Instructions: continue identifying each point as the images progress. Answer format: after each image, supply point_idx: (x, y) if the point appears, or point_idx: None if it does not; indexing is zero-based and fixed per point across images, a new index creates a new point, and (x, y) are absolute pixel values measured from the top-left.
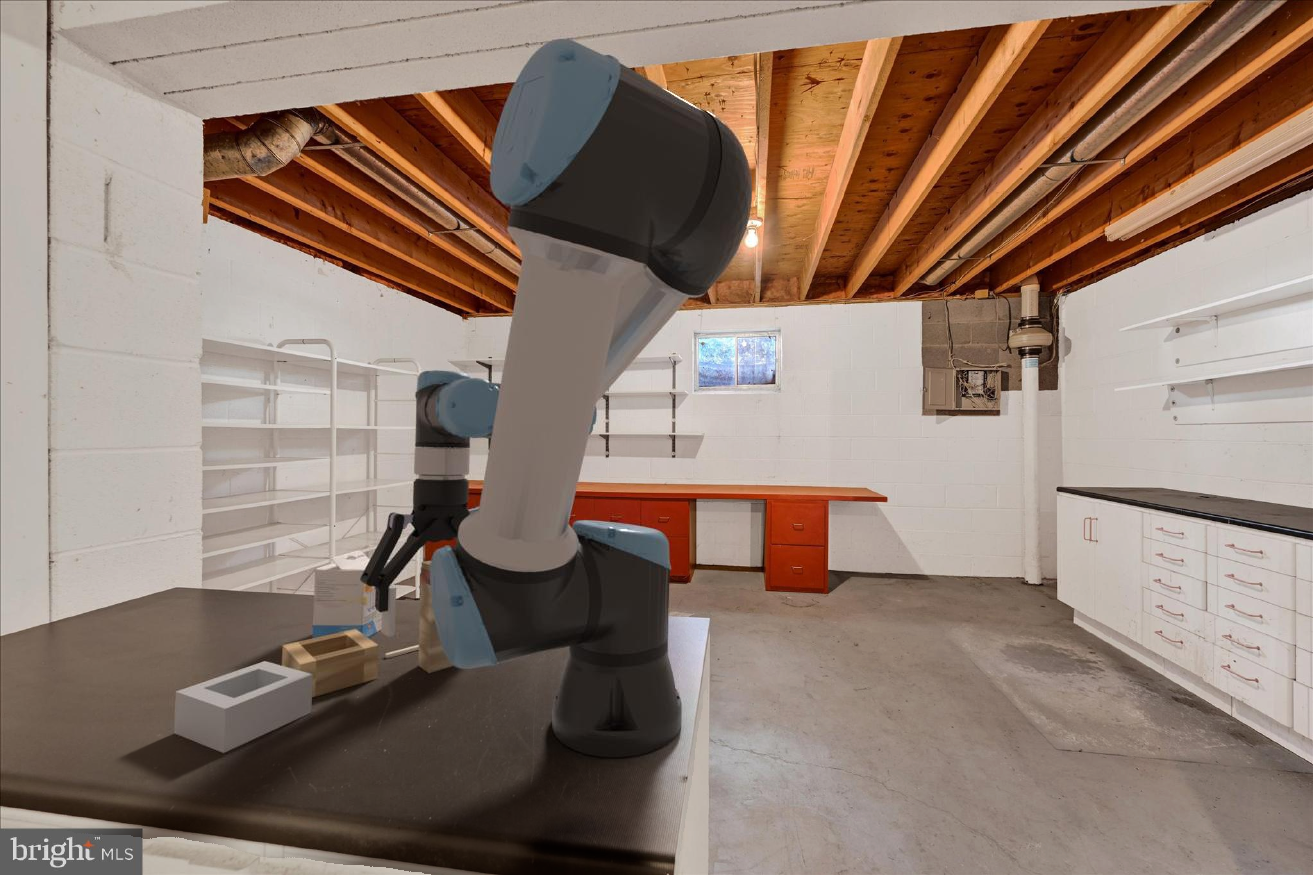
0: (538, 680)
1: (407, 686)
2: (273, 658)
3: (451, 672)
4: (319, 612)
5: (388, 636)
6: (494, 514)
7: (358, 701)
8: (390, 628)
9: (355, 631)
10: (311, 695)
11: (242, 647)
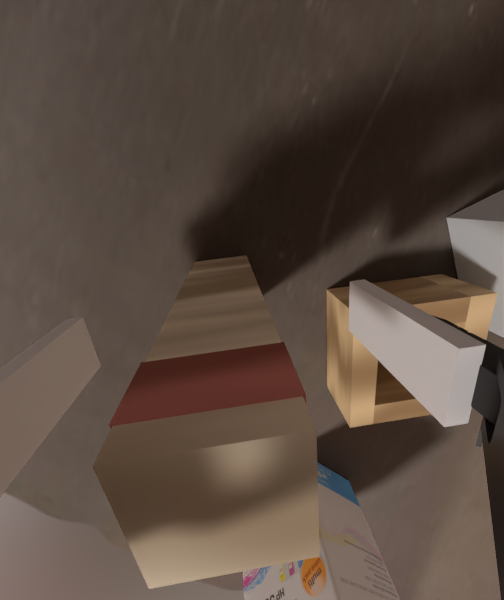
0: (31, 29)
1: (298, 219)
2: (406, 444)
3: (208, 231)
4: (364, 528)
5: (365, 280)
6: None
7: (381, 211)
8: (372, 285)
9: (355, 415)
10: (471, 219)
11: (418, 495)
